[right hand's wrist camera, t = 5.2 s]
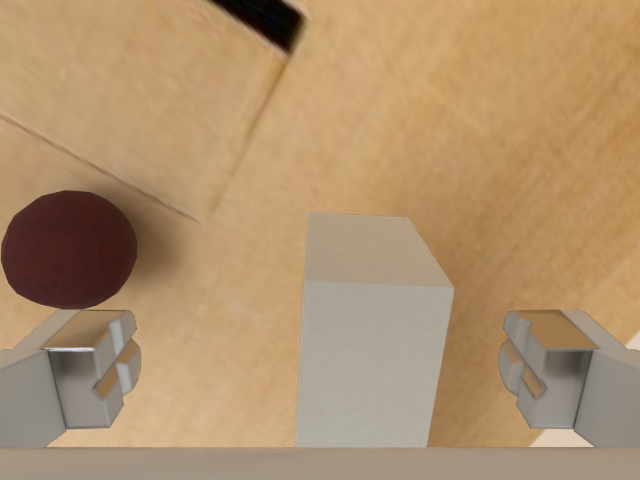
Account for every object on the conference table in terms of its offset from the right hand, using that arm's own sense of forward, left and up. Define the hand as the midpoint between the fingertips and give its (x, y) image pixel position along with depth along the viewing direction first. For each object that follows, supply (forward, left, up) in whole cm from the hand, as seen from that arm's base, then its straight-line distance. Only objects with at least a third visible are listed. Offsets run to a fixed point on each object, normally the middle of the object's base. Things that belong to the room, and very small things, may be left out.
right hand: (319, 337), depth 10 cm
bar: (+15, +2, -13) cm, 19 cm away
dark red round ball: (+6, -15, -22) cm, 27 cm away
